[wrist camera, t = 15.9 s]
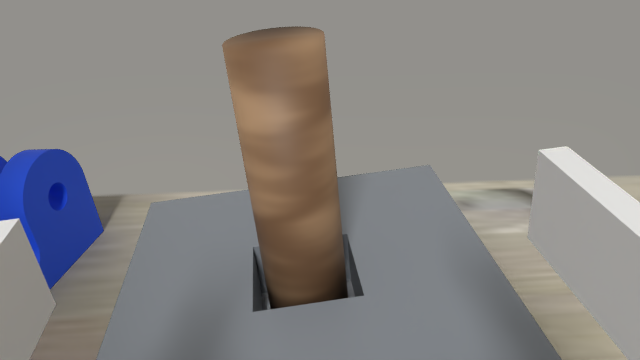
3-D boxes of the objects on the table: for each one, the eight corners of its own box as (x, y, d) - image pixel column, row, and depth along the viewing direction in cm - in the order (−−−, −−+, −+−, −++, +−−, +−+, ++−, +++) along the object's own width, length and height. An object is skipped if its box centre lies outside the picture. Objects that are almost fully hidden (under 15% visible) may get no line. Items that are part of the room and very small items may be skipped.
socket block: (95, 550, 21) (55, 475, 19) (167, 260, 39) (151, 202, 37) (566, 470, 22) (582, 390, 20) (429, 222, 40) (429, 164, 38)
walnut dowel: (274, 352, 28) (219, 57, 20) (272, 298, 32) (225, 33, 24) (355, 340, 28) (330, 44, 21) (343, 288, 32) (318, 22, 25)
